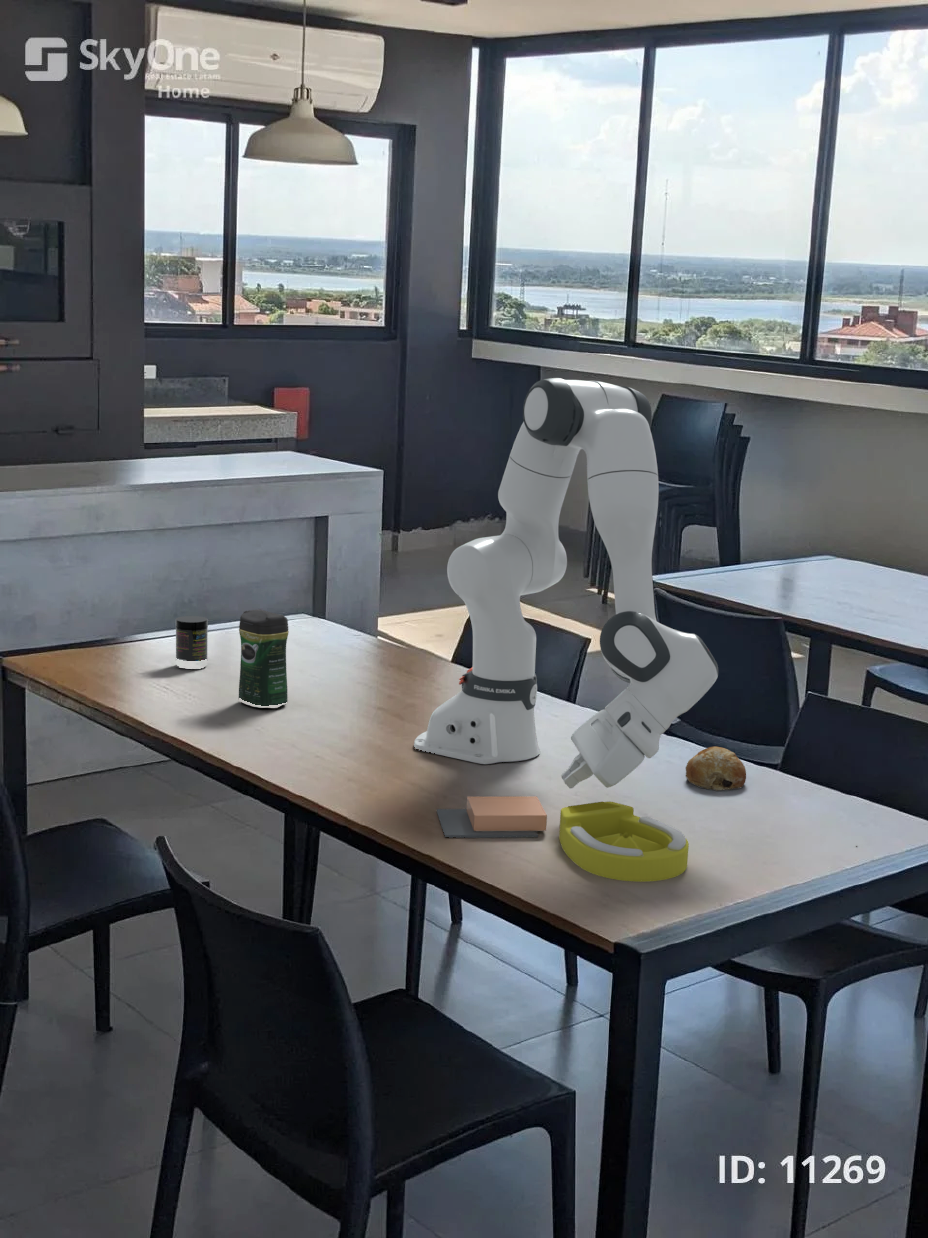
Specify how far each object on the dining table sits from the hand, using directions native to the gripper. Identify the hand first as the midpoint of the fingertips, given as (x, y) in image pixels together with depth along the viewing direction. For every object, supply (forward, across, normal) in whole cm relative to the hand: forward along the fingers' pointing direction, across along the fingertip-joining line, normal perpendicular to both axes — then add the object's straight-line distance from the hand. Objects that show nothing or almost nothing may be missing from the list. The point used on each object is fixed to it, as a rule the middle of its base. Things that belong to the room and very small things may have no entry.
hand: (565, 782), depth 234 cm
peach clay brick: (+6, 0, +1) cm, 6 cm away
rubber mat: (+13, 0, -4) cm, 14 cm away
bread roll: (-16, -22, +26) cm, 37 cm away
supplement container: (+49, -101, -39) cm, 119 cm away
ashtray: (+1, +14, +9) cm, 17 cm away
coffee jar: (+38, -70, -28) cm, 85 cm away
